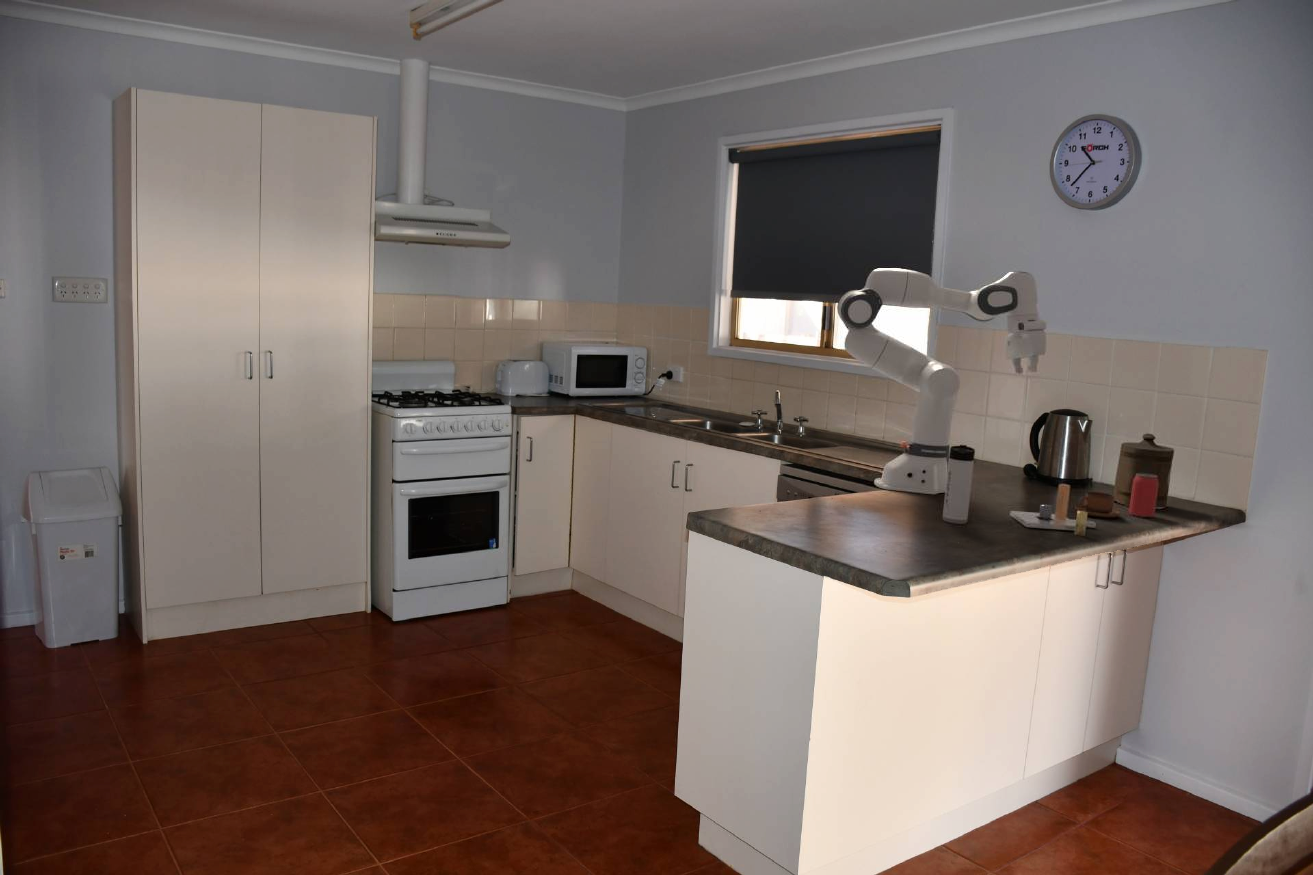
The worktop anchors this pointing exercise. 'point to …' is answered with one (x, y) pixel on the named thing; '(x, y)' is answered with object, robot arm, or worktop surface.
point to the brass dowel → (1081, 523)
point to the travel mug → (958, 484)
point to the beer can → (1144, 495)
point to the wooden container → (1143, 468)
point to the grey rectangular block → (1045, 512)
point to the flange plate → (1057, 519)
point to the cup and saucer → (1098, 505)
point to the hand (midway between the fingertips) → (1025, 373)
